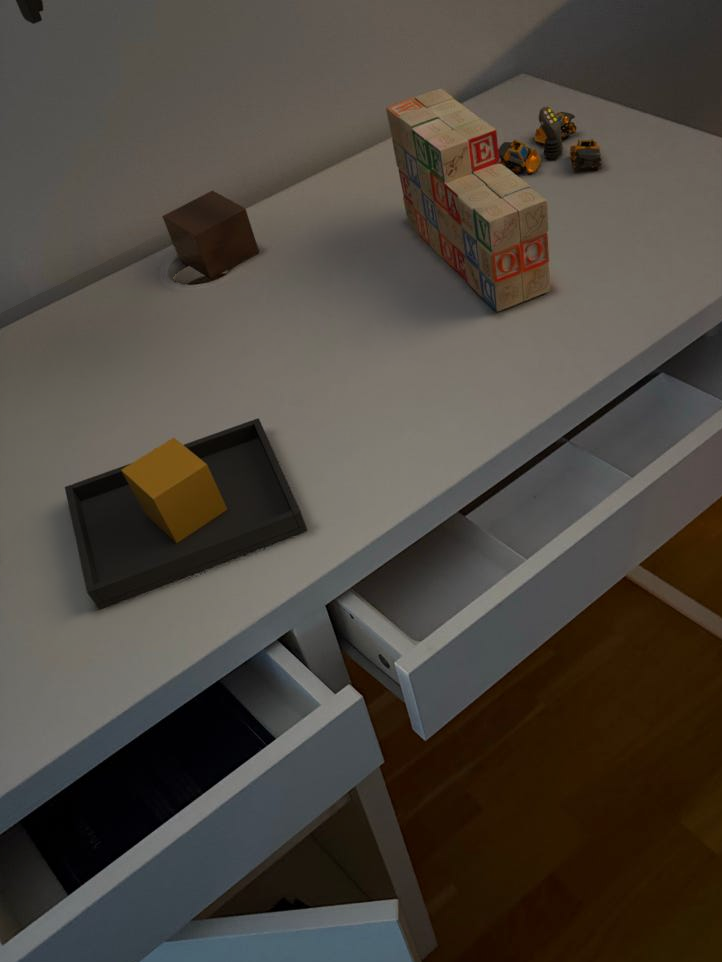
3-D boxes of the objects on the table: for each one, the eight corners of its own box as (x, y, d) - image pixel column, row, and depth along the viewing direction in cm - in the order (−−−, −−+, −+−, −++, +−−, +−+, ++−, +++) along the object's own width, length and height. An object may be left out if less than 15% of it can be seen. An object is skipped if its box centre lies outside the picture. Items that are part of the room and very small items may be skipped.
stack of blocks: (553, 292, 91) (546, 166, 82) (496, 314, 90) (483, 189, 80) (456, 203, 104) (440, 84, 94) (406, 222, 103) (384, 104, 93)
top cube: (176, 543, 75) (152, 498, 71) (145, 514, 78) (120, 469, 74) (227, 509, 77) (207, 464, 73) (195, 482, 79) (173, 437, 75)
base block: (210, 279, 100) (194, 235, 96) (179, 259, 103) (161, 216, 99) (259, 252, 102) (245, 208, 98) (227, 233, 105) (212, 190, 101)
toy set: (557, 197, 102) (555, 152, 98) (487, 167, 108) (482, 124, 104) (631, 152, 106) (632, 108, 103) (560, 126, 112) (558, 83, 108)
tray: (98, 609, 72) (86, 592, 71) (75, 504, 80) (64, 486, 79) (307, 530, 75) (300, 512, 73) (265, 436, 83) (258, 417, 81)
